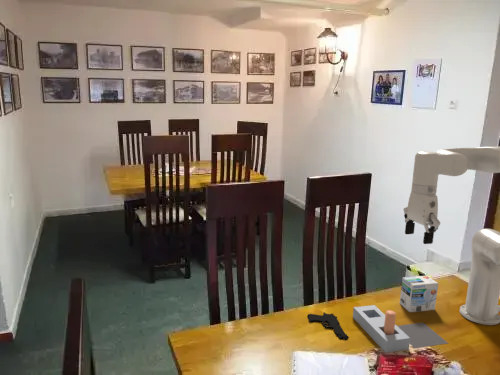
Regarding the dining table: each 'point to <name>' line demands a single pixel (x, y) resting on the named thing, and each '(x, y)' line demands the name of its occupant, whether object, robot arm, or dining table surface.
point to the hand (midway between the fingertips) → (418, 238)
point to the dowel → (389, 322)
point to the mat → (421, 335)
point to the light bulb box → (418, 293)
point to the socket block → (380, 329)
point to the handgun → (329, 323)
